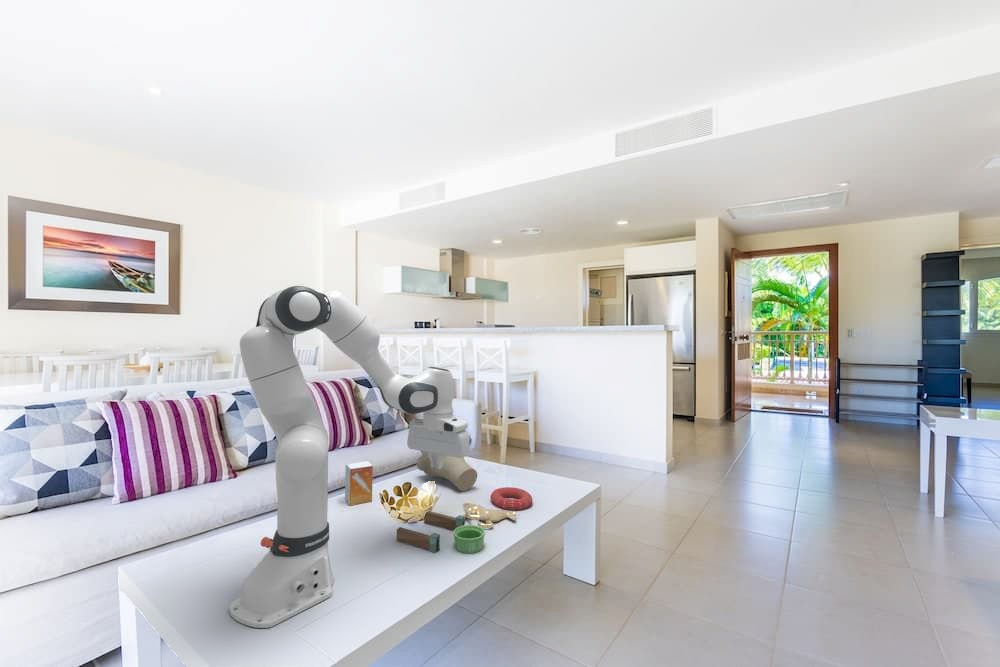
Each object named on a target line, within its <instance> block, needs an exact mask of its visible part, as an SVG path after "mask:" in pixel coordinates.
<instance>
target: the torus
mask: <svg viewBox="0 0 1000 667" xmlns="http://www.w3.org/2000/svg"><path fill="white" fill-rule="evenodd" d="M490 501H491V503H492V504H493V505H495V506H496V507H498V508H500V509H502V510H506V511H522V510H525V509H528V508H529V507H531V505H532V504H533V497H532V495H531V493H529V492H528V491H526V490H524V489H522V488H517V487H511V486H506V487H505V486H504V487H498V488H496V489H494V490H493V491H492V492H491V494H490Z"/></svg>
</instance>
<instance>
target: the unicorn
mask: <svg viewBox="0 0 1000 667" xmlns="http://www.w3.org/2000/svg"><path fill="white" fill-rule="evenodd" d="M462 507H463V508H464V509H465V511H464V513H465V514H463V515H462V516H465V520H467V519H470V520H477V521H479V520H480V522H477V526H479V527H481V528H483V529H492V528H493V527H494V523H497V522H499V521H502V520H504V519H509V520H512V521H515V520H517V517H518V516H519V514H515V513H516V510H512V511H511V510H507V509H489V508H485V507H484V506H482V505H480V504H475V503H471V502H469V503H468V502H466V503H463V504H462ZM481 521H482V522H484V523H481Z"/></svg>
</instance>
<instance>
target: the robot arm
mask: <svg viewBox="0 0 1000 667" xmlns="http://www.w3.org/2000/svg"><path fill="white" fill-rule="evenodd" d="M257 315H258V316H257V319H256V325H255V326H254V327H253V328H250V329H249V330H247V331H246V332H245V333H243V335H242V336H241V337H240V340H239V349H240V350H239V351H240V356H241V359H242V364H243V368H244V370H245V373H246V374H245V375H246V376H247V379H248V382H249V385H250V386H251V390H252V392H253V395H254V397H255V400H256V403H257V405H258V407H259V410H260V412H261V414H262V415H263V416H264V418H265V419H266V421H267V423H268V425H269V426H270V428H271V430H272V431H273V434H274V435H275V438H276V440H277V448H276V450H275V453H274V454H275V456H274V458H275V459H274V460H275V461H274V462H275V482H276V484H275V485H276V496H277V518H276V520H277V521H276V522H277V526H276V527H277V529H276V530H275V533H274V535H273V538H269V537H267V536H264V537H263V538H261V540H260V546H261V547H263V548H267V549H269V551H268V552H267V553H266V554H265V555H264V556H263V558H262V559H261V560H260V561H259V562H258V563H257V565H256V566H255V567H254V568H253V569H252V570H251V572H250V573H249V574H248V575H246V576H245V579H244V581H243V583H242V584H243V585H242V589H241V595H240V596H239V597H237V598H236V599H235V600H234V601H232V602H231V603H229V606H228V612H229V613H228V614H229V615H230V616H231V618H233V619H234V620H235V621H237V622H239V623H241V624H243V625H244V626H245V625H246V626H248V627H252V628H258V629H269V628H271V627H274V626H276V625H278V624H280V623H281V622H283V621H286V620H288V619H289V618H292V617H293V616H295V615H296V616H297V614H299V613H301V612H304V611H305V610H307V609H309V608H311V607H314V606H315V605H317V604H319V603H321V602H323V601H325V600H326V599H328V598H331V597H332V596H333V584H334V581H335V577H334V575H333V572H332V567H331V562H330V553H329V544H328V543H329V540H330V522H329V521H328V512H329V510H328V508H329V505H328V501H329V497H328V496H329V495H328V494H329V490H328V489H329V434H328V431H327V429H326V427H325V424H324V422H323V419H322V417H321V414H320V412H319V410H318V408H317V406H316V403H315V402H314V398H313V397H312V395H311V392H310V390H309V387H308V384H307V382H306V379H305V376H304V374H303V371H302V369H301V366H300V364H299V360H298V359H297V356H296V354H295V352H294V350H295V349H294V340H295V339H294V338H295V336H296V335H299V334H303V333H306V332H307V331H311V330H313V329H317V330H319V331H321V332H322V333H323V334H324V335H325V336H326V337H327V338H328V339H329V340H330V341H331V342H332V343H333V345H334V346H336V348H337V349H339V350H340V351H341V352H342V353H343V354H344V355H346V356H347V357H348V358H350V359H351V360H353V361H354V362H355V363H356V364H358V365H359V366H360V367H361V368H362V369H363V370H364V371H365V373H367V375H368V376H369V377H370V378H371V379H372V380H373V381H374V383H375V384H376V385H377V387H378V389H379V392H380V396H381V398H382V401H383V402H384V403H385V405H386V406H387V407H389V408H391V409H395V410H398V411H401V412H403V413H405V414H408V415H417V414H421V413H422V418H415V417H414V418H412V419H411V420H410V421H409V425H408V426H409V427H408V434H407V447H408V448H409V449H410V450H414V451H415V450H416V451H420V452H421V451H425V452H428V456H429V459H430V461H431V467H432V468H437V469H441V468H442V467H443V461H444V459H445V458H446V456H452V457H457V458H463V457H464V458H465V457H467V455H469V453H470V438H469V436H470V435H469V433H468V431H467V429H468V425H469V424H468V422H467V421H465V420H464V419H462V418H460V417H458V416H456V415H455V414H454V409H453V399H454V391H455V390H454V378H453V374H452V372H451V371H450V370H448V369H447V368H441V367H436V366H427V367H426V369H425V370H423V371H422V372H420V373H419V374H417V375H415V376H413V377H411V378H410V377H407V376H405V375H402V374H399V373H397V371H395V370H394V369H393V367H391V365H390V364H389V363H388V362H387V360H386V359H385V358H384V357H383V356H382V354H381V353H380V350H379V344H380V340H381V339H380V338H381V336H380V333H379V332H378V330H377V328H376V327H375V324H374V323H373V322H372V321H371V319H370V318H369V317H368V316H367V315H366V314H365V312H364V311H363V310H362V309H361V308H360V307H359V306H358V305H357V304H356V303H355V302H354V301H352V300H351V299H350V298H349V297H348V296H346V295H345V294H344V293H342V292H341V291H339V290H335V289H331V290H327V291H324V292H319V291H316V290H315V289H313V288H310V287H308V286H304V285H294V286H289V287H287V288H285V289H280V290H278V291H276V292H274V293H273V294H271V295H270V296H269V297H267V298H266V299H264V300H263V302H262V303H261V305H260V307H259V310H258V314H257ZM436 454H438V457H439V458H440V459H439V461H436V458H435V455H436Z"/></svg>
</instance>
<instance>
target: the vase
mask: <svg viewBox="0 0 1000 667" xmlns="http://www.w3.org/2000/svg"><path fill="white" fill-rule="evenodd" d="M420 452H421V455H420V456H419V458H418V459H417V461H416V468H417V469H418V470H419V471H421V472H423V473H424V474H425V475H427V476H429V477H431V478H434V479H446V480H448V481H450V482H451V483H452V484H454V486H456V488H457V489H458V490H459V491H461V492H466V491H468V490H470V489H471V488H472V487H474V486H475V484H476V482H477V479H478V472H477V470H476V469H475V468H474V467H471V465H469V464H468V462H467V461H466V460H465V457H463V458H457V457H452V456H446V458H445V459H444V461H443V467H442V468H441V469H437V468H432V467H431V461H430V459H429V456H428V452H425V451H420ZM435 458H436V461H439V459H440V458H439V457H438V454H436V455H435Z"/></svg>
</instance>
